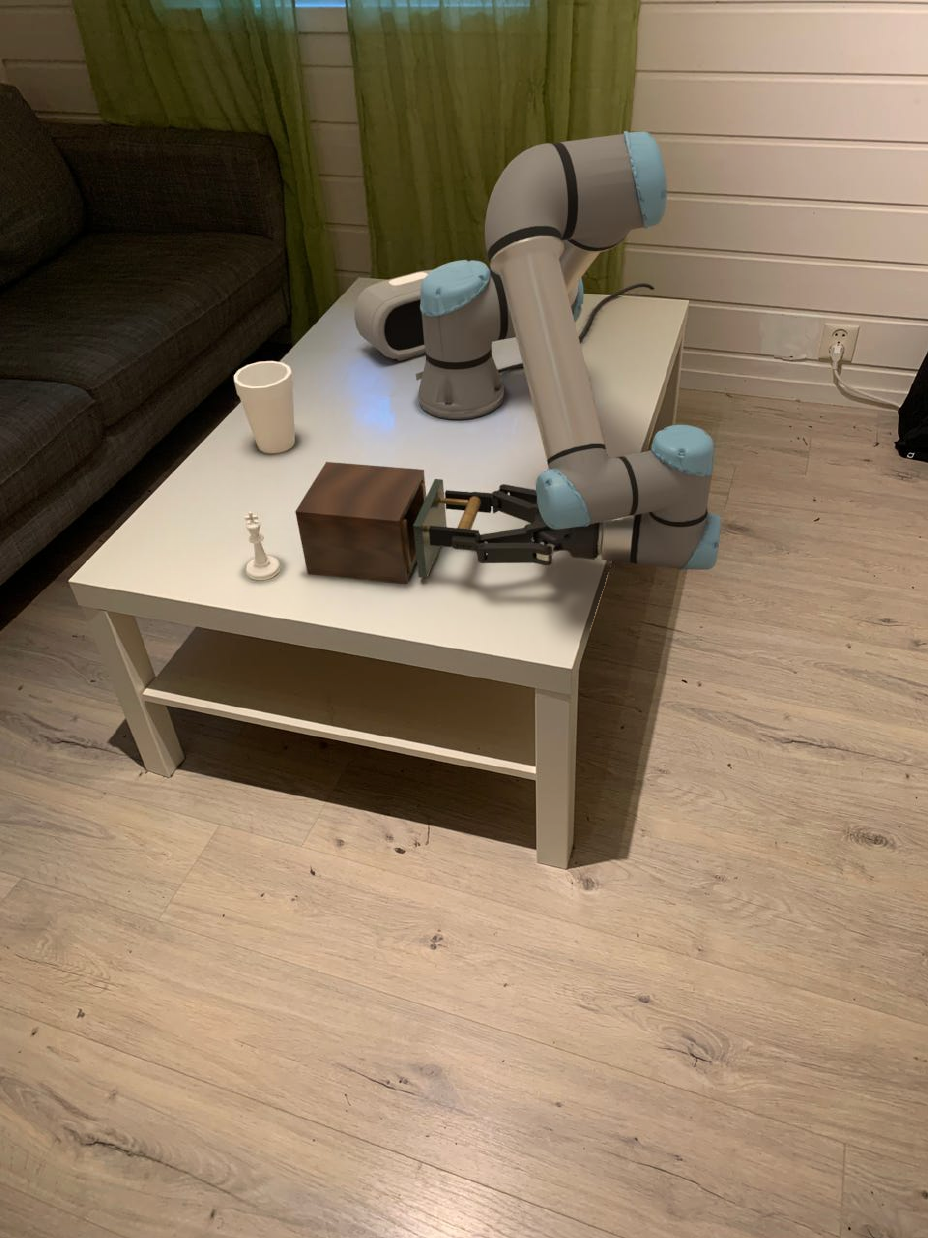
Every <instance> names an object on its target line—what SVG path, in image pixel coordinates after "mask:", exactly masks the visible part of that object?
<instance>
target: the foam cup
mask: <svg viewBox="0 0 928 1238" xmlns="http://www.w3.org/2000/svg"><path fill="white" fill-rule="evenodd" d="M233 383H234V387H235V391H236V395H237V396H238V397H239V400H240V402H241V405H242V408H243V410H244V414H245V416H246V419H247V422H248V425H249V427H250V429H251V432H252V435H253V437H254V440H255V443H256V445H257V448H258V450H259V451H261V452H262V453H266V454H269V455H271V454H280V453H284V452H286V451H289V450H290V449H291V448H293V446H294V445H295V444H296V433H295V432H296V431H295V430H296V429H295V410H294V408H295V407H294V386H295V385H294V378H293V374H292V369H291V366H289V365H288V364H286V363H285V362H280V361H275V360H266V361H256V362H254V363H250V364H246V365H244V366H242V367H241V368H238V370H236V372H235V374H234V375H233Z"/></svg>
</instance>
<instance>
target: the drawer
mask: <svg viewBox="0 0 928 1238" xmlns="http://www.w3.org/2000/svg"><path fill="white" fill-rule="evenodd" d="M446 504H454V505H465V506H466V508H465V511H463V513H462V516H461V518H460V521H459V523H458V525H457V528H459V529H470V530H472V528H473V526H474V523H475V521H476V518H477V515H478V513H479V512H478V510H479V508H480V505H481V500H480V499H479V498H478V497H475V496H473V497H471V498H470V499H469V501H468V500H460V499H449V498H445V489H444V479H442V478H434V479H433V482H432V484H431V486H430V489H429V490H428V492H427V494H426V499H425V489H424V483H423V482H421V483H420V485H419V487H418V489H417V491H416V493H415V496H414V498H413V500H412V502H411V504H410V506H409V508H408V510H407V512H406V514H405V516H404V518H403V521H402V532H403V541H404V549H405V558H406V566H407V571H410V570H411V568H412V566H413V563H414V561H415V559H416V557H417V561H416V564H417V573H418V575H417V576H418V578H421V579H428V576H429V574H430V572H431V569H432V568H433V565H434V562H435V560H436V557H437V555H438V553H439V550H440V548H441V546H435V545H430V536H429V527H430V526H438V527H448V526H447V525H448V524H447V515H446V513H447V512H446Z"/></svg>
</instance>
